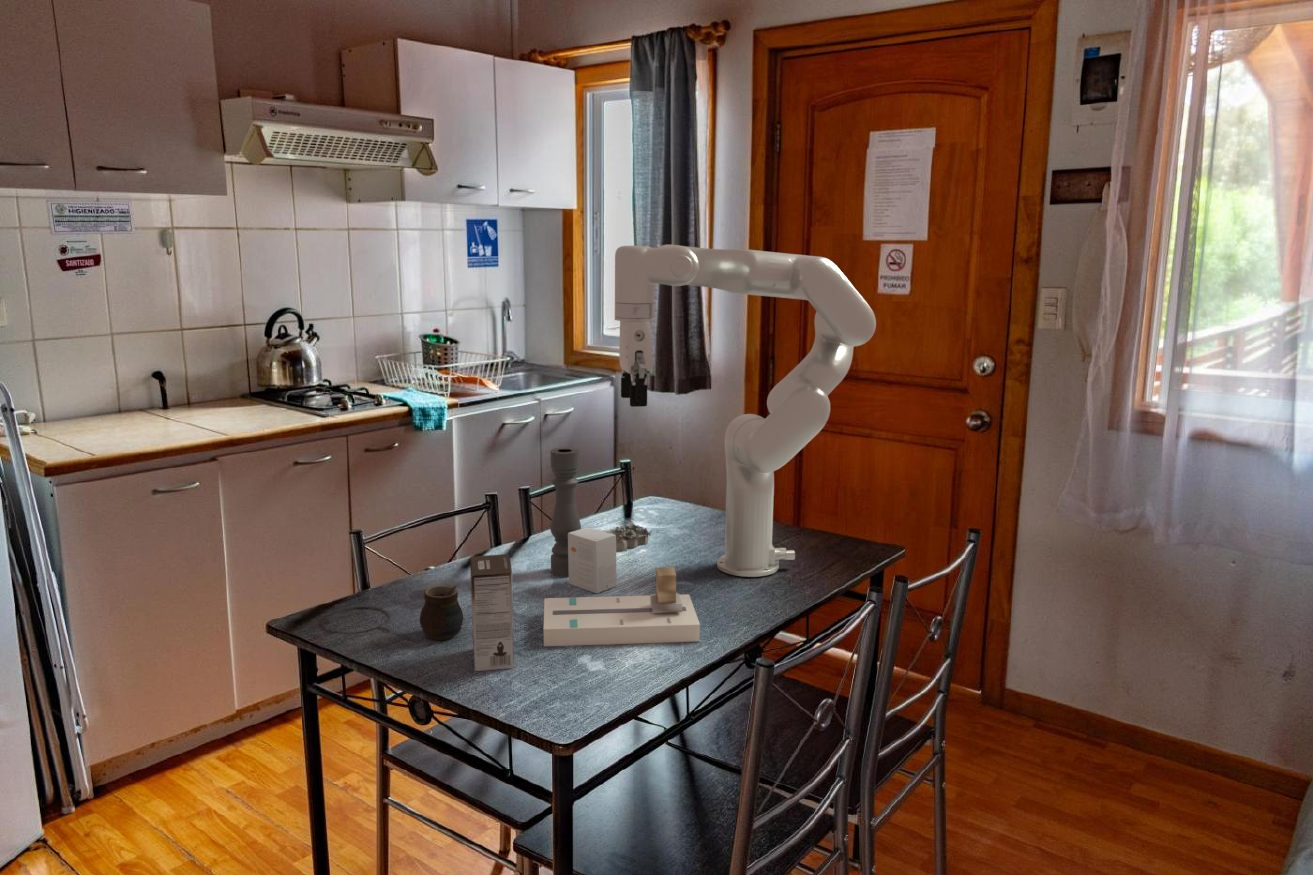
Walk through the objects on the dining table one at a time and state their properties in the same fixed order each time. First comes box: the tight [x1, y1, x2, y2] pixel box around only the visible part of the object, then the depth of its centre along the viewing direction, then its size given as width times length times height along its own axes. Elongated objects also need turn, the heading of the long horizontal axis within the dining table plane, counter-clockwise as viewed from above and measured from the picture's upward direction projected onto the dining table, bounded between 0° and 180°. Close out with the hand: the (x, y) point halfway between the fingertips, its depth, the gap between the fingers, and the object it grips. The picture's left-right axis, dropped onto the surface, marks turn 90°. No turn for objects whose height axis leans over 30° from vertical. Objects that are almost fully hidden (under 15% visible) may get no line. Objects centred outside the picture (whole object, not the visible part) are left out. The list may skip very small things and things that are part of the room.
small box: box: [568, 526, 618, 594], centre depth 192 cm, size 8×6×10 cm
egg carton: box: [602, 521, 653, 553], centre depth 217 cm, size 11×8×4 cm
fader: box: [649, 566, 682, 613], centre depth 172 cm, size 5×5×6 cm
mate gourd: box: [419, 584, 464, 641], centre depth 168 cm, size 7×8×10 cm
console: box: [543, 593, 701, 647], centre depth 172 cm, size 26×14×3 cm, turn 96°
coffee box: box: [469, 553, 515, 672], centre depth 158 cm, size 9×6×16 cm
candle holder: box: [549, 447, 582, 578], centre depth 197 cm, size 6×6×25 cm
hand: (633, 401), depth 191 cm, fingers open, 9 cm apart
